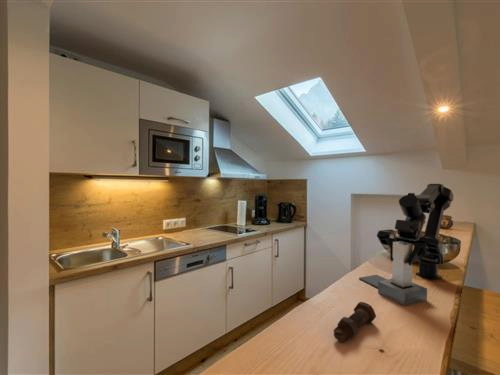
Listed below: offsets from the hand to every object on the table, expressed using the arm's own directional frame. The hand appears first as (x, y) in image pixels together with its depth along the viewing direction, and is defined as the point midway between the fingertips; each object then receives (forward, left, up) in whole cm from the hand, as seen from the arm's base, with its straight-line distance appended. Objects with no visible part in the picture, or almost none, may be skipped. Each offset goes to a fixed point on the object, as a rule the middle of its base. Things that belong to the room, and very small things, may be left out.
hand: (400, 262), depth 83 cm
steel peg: (-1, 0, -8) cm, 8 cm away
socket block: (-1, 0, -12) cm, 12 cm away
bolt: (+28, +9, -12) cm, 31 cm away
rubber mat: (-3, -12, -12) cm, 17 cm away
